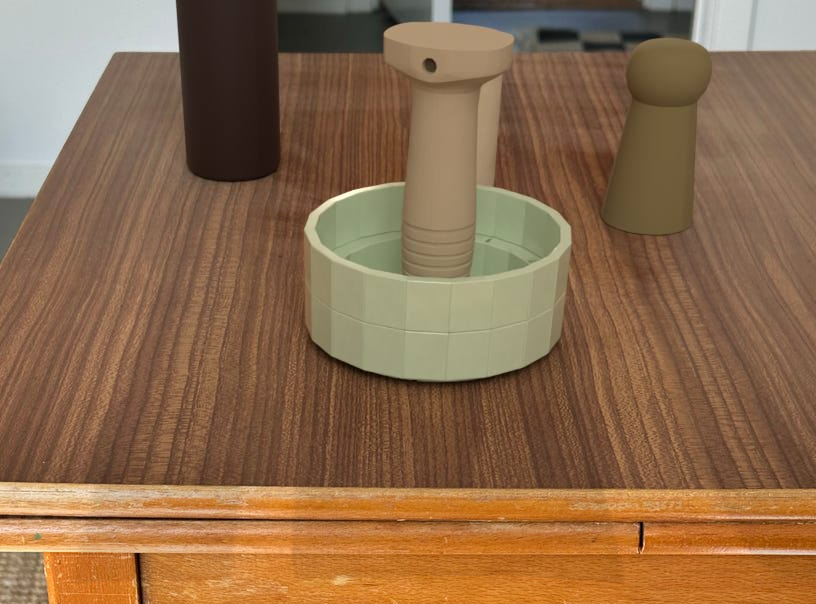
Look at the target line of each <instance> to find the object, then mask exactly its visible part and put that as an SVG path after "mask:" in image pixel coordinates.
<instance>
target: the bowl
mask: <svg viewBox="0 0 816 604" xmlns="http://www.w3.org/2000/svg"><path fill="white" fill-rule="evenodd" d="M404 190H405V181H398V182H388V183H387V182H386V183H382V184H377V185H372V186H367V187H361V188H357V189H352V190H349V191H347V192H345V193H342V194H340V195H337V196H334V197H331V198H329V199H327V200H326V201H324V202H323V203H322V204H320V205H319V206H317V207H316V208H315V209H314V210H312V211H311V212H310V213H309V215H308V217H307V221H306V222H305V225H304V228H303V267H304V268H303V271H304V272H303V275H304V323H305V326H306V328H307V332H308V333H309V336H310V338H311V340H312V342H313V343H315V344H316V345H317V346H318V347H319V348H321V349H322V350H323V351H324V352H325V353H326V354H328V355H329V356H330V357H332V358H335V359H337V360H339V361H341V362H344V363H346V364H348V365H351V366H353V367H355V368H358V369H360V370H362V371H365V372H368V373H369V372H370V373H374V374H376V375H377V374H378V375H380V376H384V377H389V378H393V379H398V378H399V379H398V380H405V379H406V380H405V381H412V380H417V381H416V382H423V383H455V382H465V381H466V382H467V381H474V380H481V379H484V378H485V379H486V378H490V377H494V376H498V375H501V374H505V373H509V372H513V371H517V370H521V369H522V368H525V367H527V366H529V365H531V364H532V363H534V362H536V361H538V360H540V359H541V358H543V357H545V356H547V354H549V353H550V352H551V350H552V349H553V348H554V346H555V345H556V344H557V342H558V341H559V339H560V338H561V336H562V329H563V321H564V313H565V303H566V295H567V286H568V278H569V271H570V262H571V254H572V246H573V245H572V244H573V240H572V239H573V237H572V227H571V225H570V223H568V221H567V220H566V219H565V218H564V217H563V216H562V214H560V212H559V211H558V210H556V209H554V208H552V207H550V206H549V205H547V204H545V203H543V202H541V201H539V200H538V199H536V198H533V197H531V196H527V195H524V194H521V193H518V192H514V191H511V190H509V189H506V188H505V189H504V188H501V187H495V186H494V187H490V186H484V185H478V184H476V231H475V244H474V253H473V260H472V266H471V272H470V277H463V278H432V277H414V276H405V275H402V262H401V254H402V253H401V231H402V230H401V225H402V210H403V200H404Z"/></svg>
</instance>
